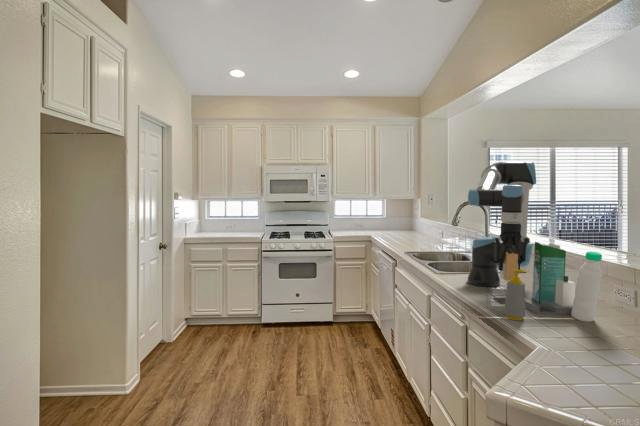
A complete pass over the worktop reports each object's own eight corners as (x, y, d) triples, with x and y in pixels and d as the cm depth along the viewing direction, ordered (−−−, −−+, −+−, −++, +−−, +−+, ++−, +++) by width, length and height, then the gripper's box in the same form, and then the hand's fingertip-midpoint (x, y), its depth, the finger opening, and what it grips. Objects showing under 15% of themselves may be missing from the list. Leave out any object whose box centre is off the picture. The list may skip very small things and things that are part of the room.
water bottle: (588, 324, 137) (601, 257, 131) (567, 316, 142) (578, 252, 137) (597, 319, 141) (610, 254, 135) (575, 311, 146) (587, 248, 141)
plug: (500, 278, 163) (502, 247, 162) (511, 278, 163) (512, 247, 162) (506, 280, 159) (507, 249, 158) (517, 280, 159) (518, 249, 158)
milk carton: (563, 306, 157) (566, 245, 156) (538, 304, 159) (541, 244, 158) (555, 300, 166) (558, 242, 164) (532, 298, 168) (534, 241, 167)
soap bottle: (518, 322, 137) (520, 272, 136) (500, 316, 142) (502, 268, 141) (529, 319, 140) (531, 270, 139) (510, 313, 146) (513, 266, 145)
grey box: (524, 308, 154) (525, 273, 153) (577, 308, 154) (579, 274, 153) (536, 315, 145) (538, 278, 144) (593, 316, 145) (595, 279, 144)
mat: (490, 299, 166) (490, 297, 166) (513, 299, 166) (513, 298, 166) (501, 305, 156) (501, 304, 156) (525, 306, 156) (526, 304, 156)
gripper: (493, 223, 156) (491, 280, 158) (537, 223, 156) (534, 280, 157) (485, 221, 163) (483, 276, 165) (527, 221, 163) (525, 276, 165)
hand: (508, 278), depth 161 cm, fingers closed on plug, 4 cm apart
